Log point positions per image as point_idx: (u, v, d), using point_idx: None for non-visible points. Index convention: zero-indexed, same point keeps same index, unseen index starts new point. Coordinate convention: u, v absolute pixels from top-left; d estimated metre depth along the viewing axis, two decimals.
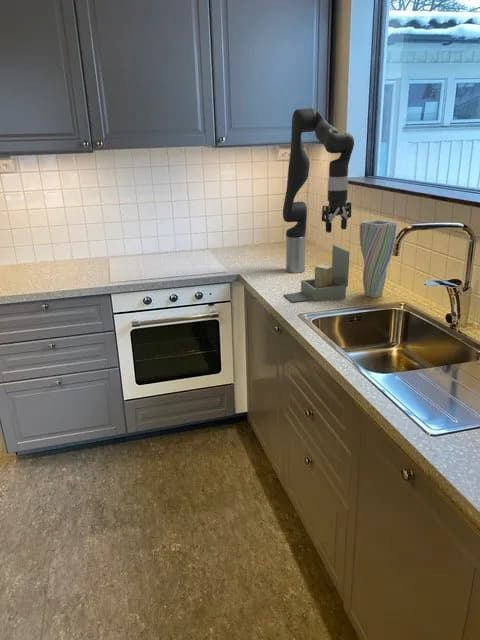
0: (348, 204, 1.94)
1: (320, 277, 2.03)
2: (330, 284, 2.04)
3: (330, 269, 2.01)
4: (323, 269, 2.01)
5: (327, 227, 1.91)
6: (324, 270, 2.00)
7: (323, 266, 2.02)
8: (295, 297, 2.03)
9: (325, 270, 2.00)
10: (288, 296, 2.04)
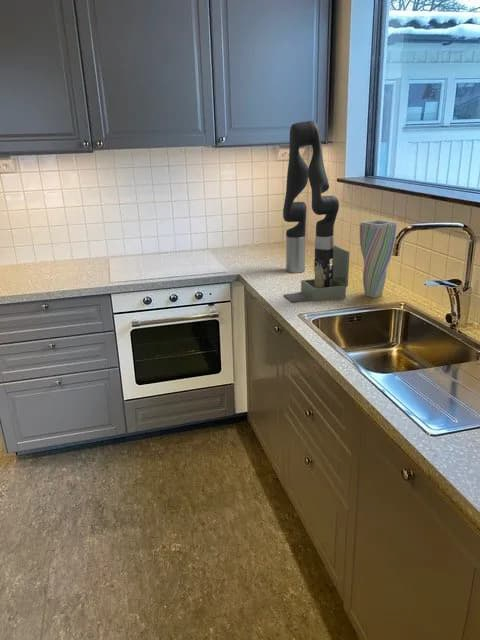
0: None
1: (320, 277, 2.03)
2: (330, 284, 2.04)
3: None
4: None
5: (328, 283, 2.00)
6: (324, 270, 2.00)
7: None
8: (295, 297, 2.03)
9: (325, 270, 2.00)
10: (288, 296, 2.04)
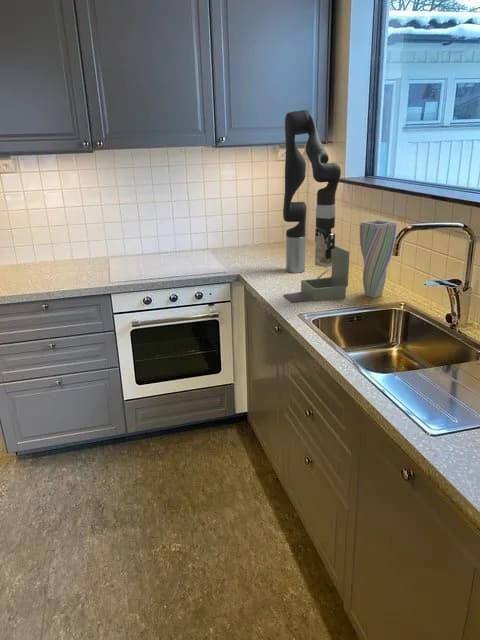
0: None
1: (321, 247, 1.99)
2: (331, 255, 2.00)
3: None
4: None
5: (329, 254, 1.96)
6: (326, 240, 1.96)
7: None
8: (295, 297, 2.03)
9: (326, 240, 1.96)
10: (288, 296, 2.04)
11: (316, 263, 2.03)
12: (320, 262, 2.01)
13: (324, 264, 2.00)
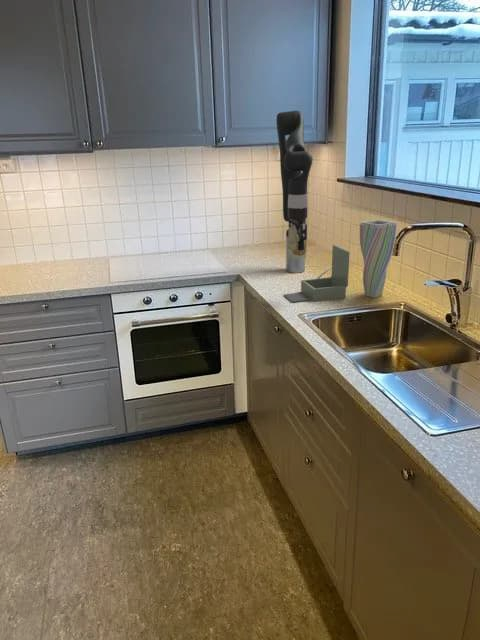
0: None
1: (293, 238, 1.93)
2: (304, 246, 1.94)
3: None
4: (297, 230, 1.91)
5: (302, 245, 1.91)
6: (298, 231, 1.91)
7: None
8: (295, 297, 2.03)
9: (299, 231, 1.90)
10: (288, 296, 2.04)
11: (289, 255, 1.97)
12: (293, 254, 1.95)
13: (297, 255, 1.94)
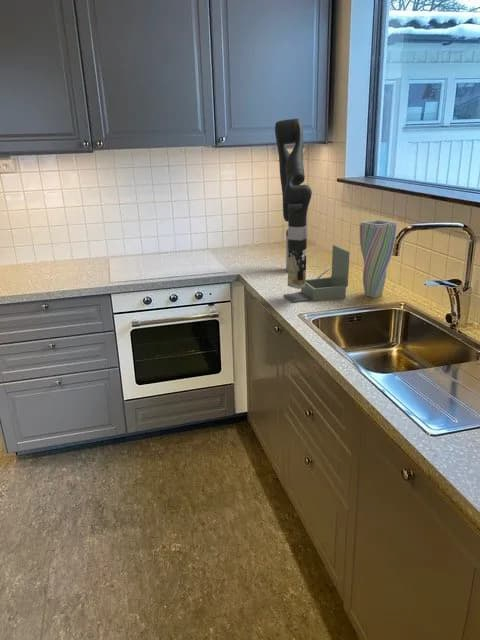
0: None
1: (293, 268, 1.97)
2: (304, 276, 1.99)
3: None
4: None
5: (301, 275, 1.95)
6: (297, 262, 1.95)
7: None
8: (295, 297, 2.03)
9: (298, 261, 1.95)
10: (288, 296, 2.04)
11: (289, 284, 2.01)
12: (293, 283, 2.00)
13: (296, 285, 1.99)
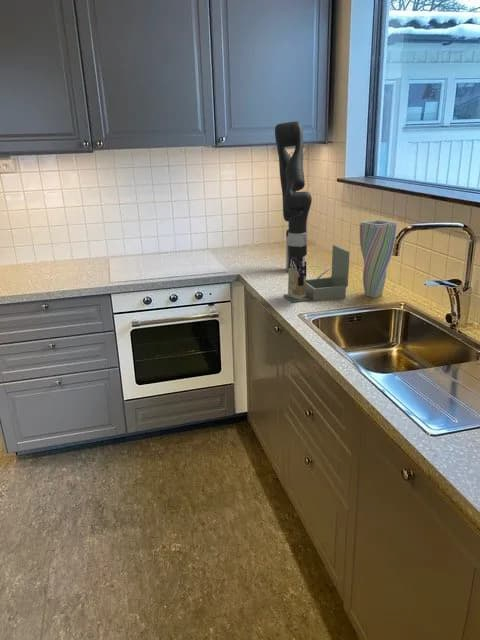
0: None
1: (293, 279, 1.99)
2: (304, 286, 2.00)
3: None
4: None
5: (302, 281, 1.96)
6: None
7: None
8: None
9: None
10: (288, 296, 2.04)
11: (289, 294, 2.03)
12: (293, 294, 2.01)
13: (297, 295, 2.00)
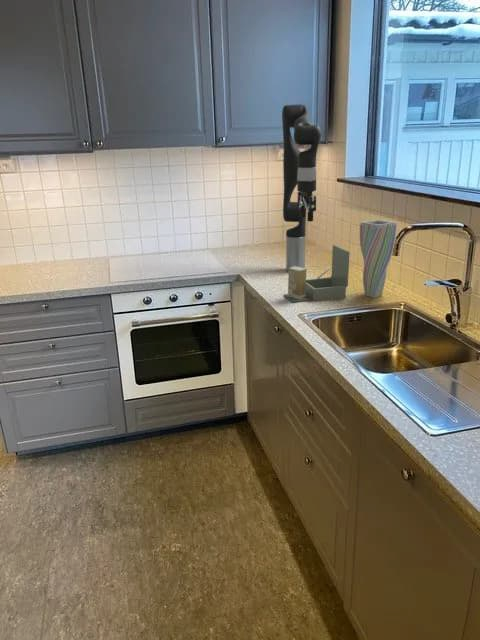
0: None
1: (293, 279, 1.99)
2: (304, 286, 2.00)
3: (304, 271, 1.97)
4: (296, 271, 1.97)
5: (311, 216, 1.98)
6: (298, 272, 1.96)
7: (297, 268, 1.98)
8: None
9: (298, 272, 1.96)
10: (288, 296, 2.04)
11: (289, 294, 2.03)
12: (293, 294, 2.01)
13: (297, 295, 2.00)
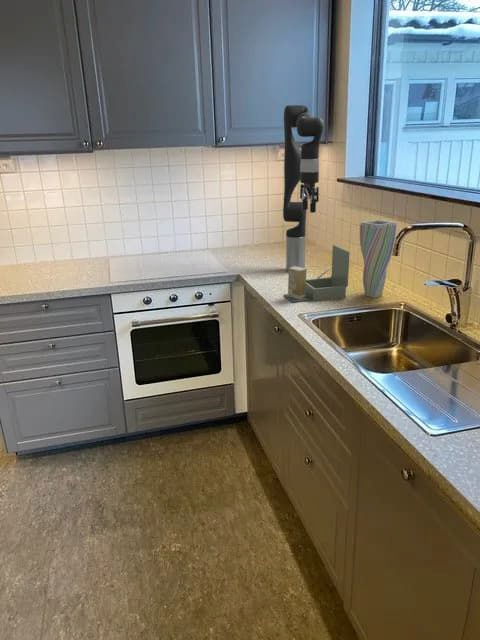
0: None
1: (293, 279, 1.99)
2: (304, 286, 2.00)
3: (304, 271, 1.97)
4: (296, 271, 1.97)
5: (314, 207, 2.00)
6: (298, 272, 1.96)
7: (297, 268, 1.98)
8: None
9: (298, 272, 1.96)
10: (288, 296, 2.04)
11: (289, 294, 2.03)
12: (293, 294, 2.01)
13: (297, 295, 2.00)
